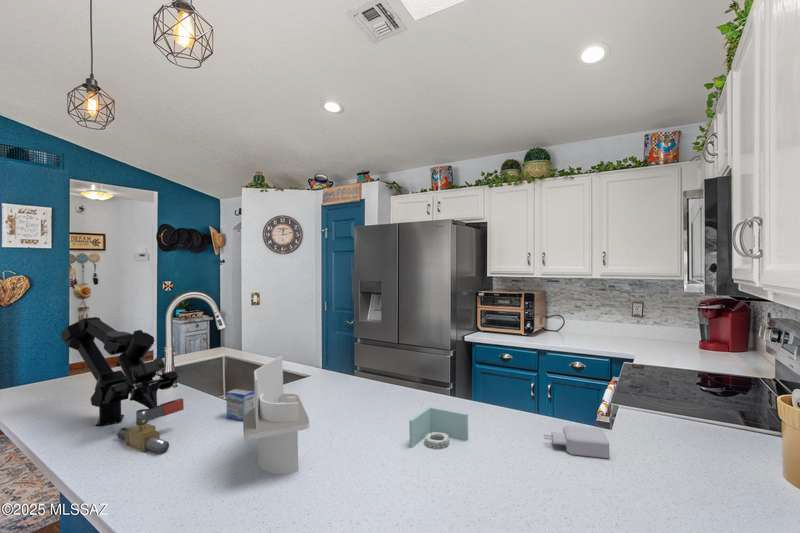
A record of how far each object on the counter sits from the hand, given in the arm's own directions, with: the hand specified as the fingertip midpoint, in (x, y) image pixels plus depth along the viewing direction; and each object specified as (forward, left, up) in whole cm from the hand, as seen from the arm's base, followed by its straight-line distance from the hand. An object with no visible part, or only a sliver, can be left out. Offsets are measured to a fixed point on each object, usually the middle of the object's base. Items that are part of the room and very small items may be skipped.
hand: (155, 409), depth 116 cm
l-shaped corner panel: (+43, +71, -8) cm, 84 cm away
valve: (+6, -3, -8) cm, 10 cm away
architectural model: (+30, +30, -8) cm, 44 cm away
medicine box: (-3, +23, -8) cm, 25 cm away
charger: (+62, +101, -8) cm, 119 cm away
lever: (+3, +2, -1) cm, 4 cm away
